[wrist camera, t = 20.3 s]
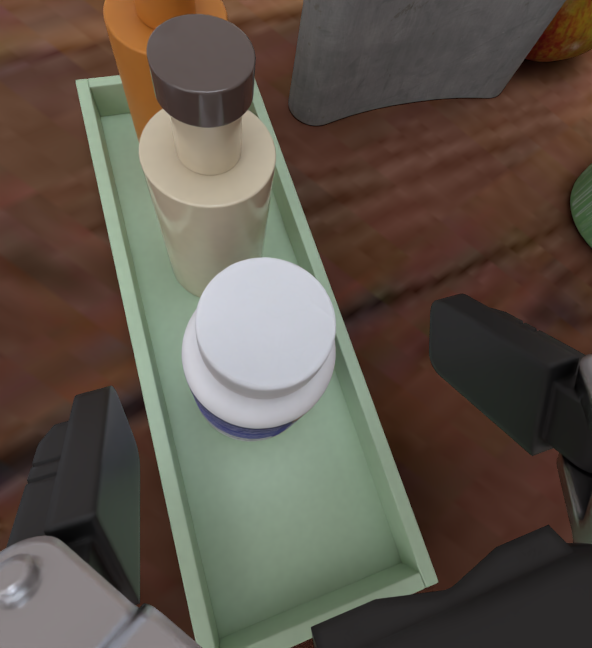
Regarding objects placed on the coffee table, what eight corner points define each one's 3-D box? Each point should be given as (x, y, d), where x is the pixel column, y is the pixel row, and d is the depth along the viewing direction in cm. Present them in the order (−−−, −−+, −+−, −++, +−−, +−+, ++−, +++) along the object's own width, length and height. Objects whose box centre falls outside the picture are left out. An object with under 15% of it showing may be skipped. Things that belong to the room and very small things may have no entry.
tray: (246, 100, 27) (248, 60, 24) (411, 567, 19) (439, 582, 17) (91, 121, 25) (74, 79, 22) (209, 653, 17) (204, 686, 15)
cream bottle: (248, 212, 23) (261, -17, 12) (272, 288, 22) (311, 108, 11) (161, 229, 22) (93, -5, 11) (182, 310, 21) (127, 134, 10)
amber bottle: (217, 118, 25) (206, -155, 14) (238, 183, 24) (243, -61, 13) (136, 129, 24) (56, -156, 13) (153, 198, 23) (81, -54, 12)
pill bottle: (298, 451, 19) (348, 434, 11) (183, 431, 19) (145, 399, 11) (314, 341, 21) (367, 256, 13) (209, 321, 21) (194, 220, 13)
